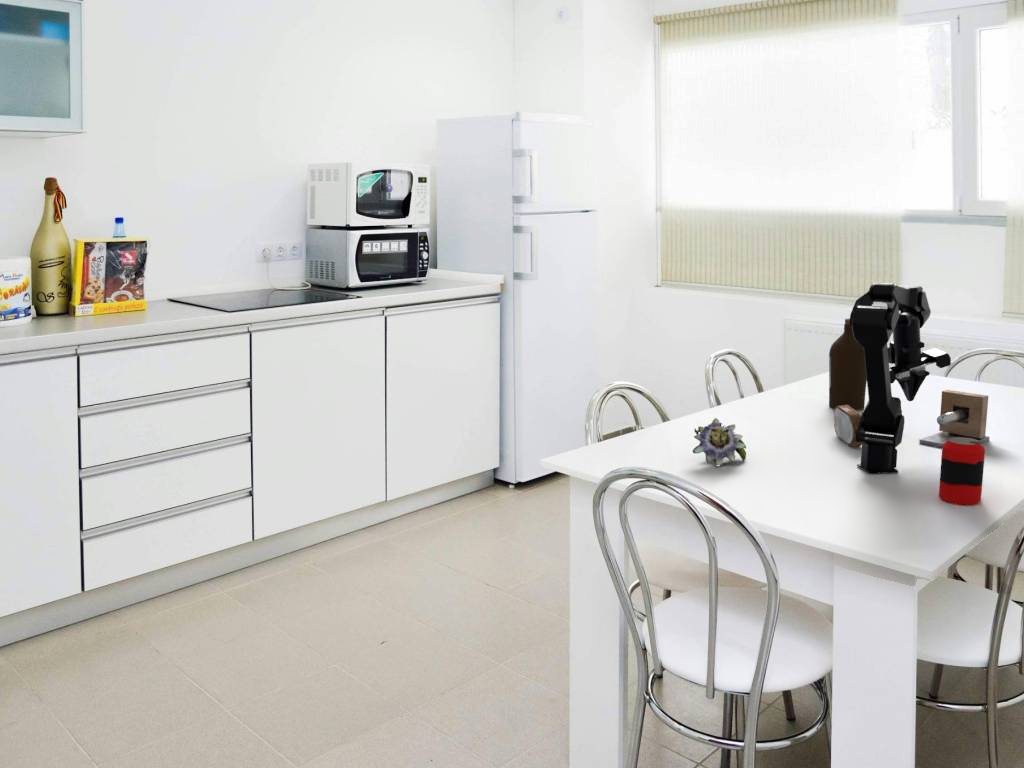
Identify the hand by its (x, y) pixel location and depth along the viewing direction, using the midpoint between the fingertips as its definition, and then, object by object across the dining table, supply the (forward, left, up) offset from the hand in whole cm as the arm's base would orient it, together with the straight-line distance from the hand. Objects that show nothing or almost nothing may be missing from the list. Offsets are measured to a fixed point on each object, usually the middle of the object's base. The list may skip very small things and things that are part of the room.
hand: (910, 400), depth 222 cm
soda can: (-9, -37, -12) cm, 40 cm away
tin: (-11, +8, -12) cm, 18 cm away
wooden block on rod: (+17, +6, -10) cm, 20 cm away
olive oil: (+5, +44, -12) cm, 46 cm away
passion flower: (-47, -4, -12) cm, 48 cm away
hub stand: (+14, +4, -12) cm, 18 cm away
